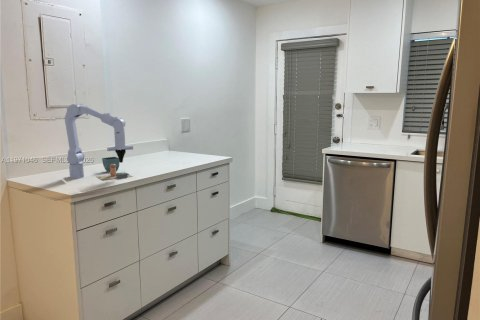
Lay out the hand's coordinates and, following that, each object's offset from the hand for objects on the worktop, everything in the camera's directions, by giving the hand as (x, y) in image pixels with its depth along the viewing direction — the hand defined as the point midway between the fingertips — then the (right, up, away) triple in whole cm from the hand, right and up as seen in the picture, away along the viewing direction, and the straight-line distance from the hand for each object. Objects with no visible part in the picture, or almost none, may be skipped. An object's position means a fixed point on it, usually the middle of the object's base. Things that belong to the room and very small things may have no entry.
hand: (121, 162), depth 214 cm
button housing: (0, -9, +1) cm, 9 cm away
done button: (0, -9, +1) cm, 9 cm away
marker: (-6, -8, +4) cm, 11 cm away
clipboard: (-5, -9, +3) cm, 11 cm away
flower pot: (-13, -6, +22) cm, 26 cm away
